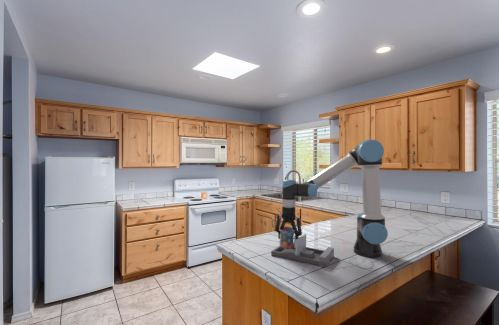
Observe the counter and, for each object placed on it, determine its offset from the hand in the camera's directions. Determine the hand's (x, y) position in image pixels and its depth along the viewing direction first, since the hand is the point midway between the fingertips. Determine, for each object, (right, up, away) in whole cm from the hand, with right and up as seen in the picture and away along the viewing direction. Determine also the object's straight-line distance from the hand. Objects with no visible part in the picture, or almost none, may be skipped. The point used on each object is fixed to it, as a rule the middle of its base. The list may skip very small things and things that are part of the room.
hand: (288, 245), depth 147 cm
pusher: (+9, -4, -6) cm, 11 cm away
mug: (0, -1, 0) cm, 1 cm away
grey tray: (+7, -4, -5) cm, 10 cm away
